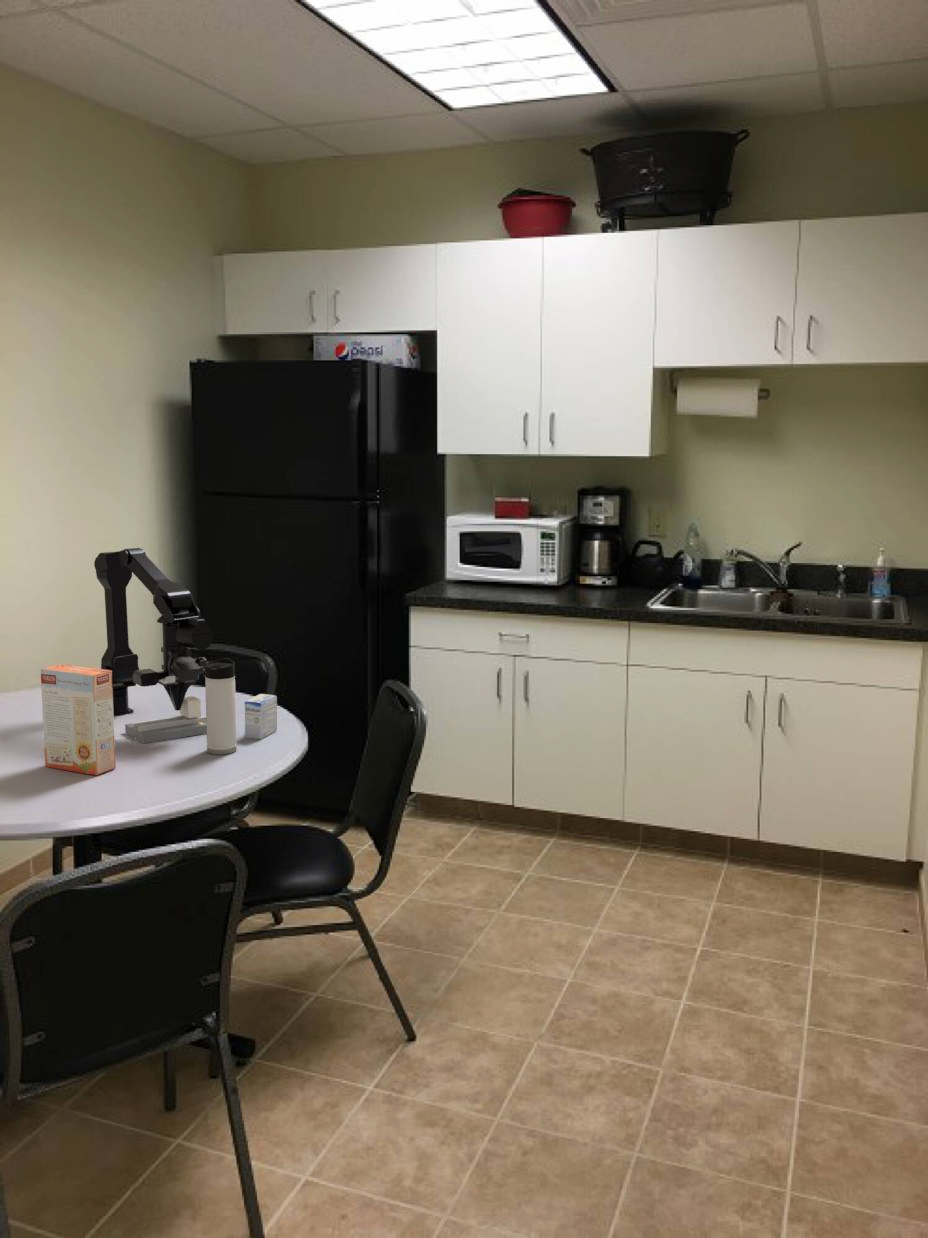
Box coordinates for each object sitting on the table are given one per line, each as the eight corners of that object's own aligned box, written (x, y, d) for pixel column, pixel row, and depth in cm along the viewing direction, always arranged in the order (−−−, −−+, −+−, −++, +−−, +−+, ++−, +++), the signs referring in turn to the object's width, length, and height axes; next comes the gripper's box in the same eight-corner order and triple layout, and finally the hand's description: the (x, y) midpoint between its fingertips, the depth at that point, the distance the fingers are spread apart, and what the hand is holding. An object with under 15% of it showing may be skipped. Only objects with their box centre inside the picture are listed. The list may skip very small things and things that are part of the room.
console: (125, 732, 246) (125, 720, 246) (195, 721, 257) (194, 709, 256) (143, 744, 238) (143, 730, 237) (215, 732, 248) (214, 719, 247)
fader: (179, 719, 251) (179, 697, 250) (192, 717, 253) (191, 695, 252) (188, 724, 247) (188, 701, 246) (200, 722, 249) (200, 699, 248)
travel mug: (242, 748, 236) (241, 659, 232) (226, 756, 230) (224, 665, 226) (217, 745, 238) (215, 656, 234) (201, 753, 232) (199, 662, 228)
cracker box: (117, 769, 220) (113, 669, 216) (96, 777, 214) (91, 675, 211) (66, 759, 226) (61, 662, 222) (43, 767, 220) (38, 667, 217)
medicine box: (260, 729, 251) (259, 693, 250) (277, 731, 250) (277, 694, 249) (244, 738, 244) (243, 701, 242) (262, 740, 243) (261, 702, 241)
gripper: (149, 654, 233) (151, 723, 236) (229, 645, 244) (230, 712, 247) (130, 645, 242) (133, 713, 244) (208, 637, 253) (209, 702, 255)
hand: (177, 710), depth 247 cm, fingers closed
